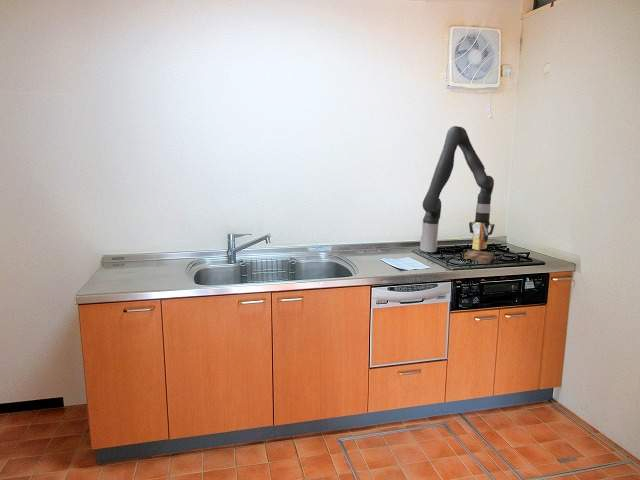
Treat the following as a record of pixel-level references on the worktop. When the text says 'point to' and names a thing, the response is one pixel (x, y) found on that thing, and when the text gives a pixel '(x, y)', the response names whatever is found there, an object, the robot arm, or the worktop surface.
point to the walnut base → (479, 256)
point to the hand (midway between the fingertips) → (480, 241)
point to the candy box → (479, 236)
